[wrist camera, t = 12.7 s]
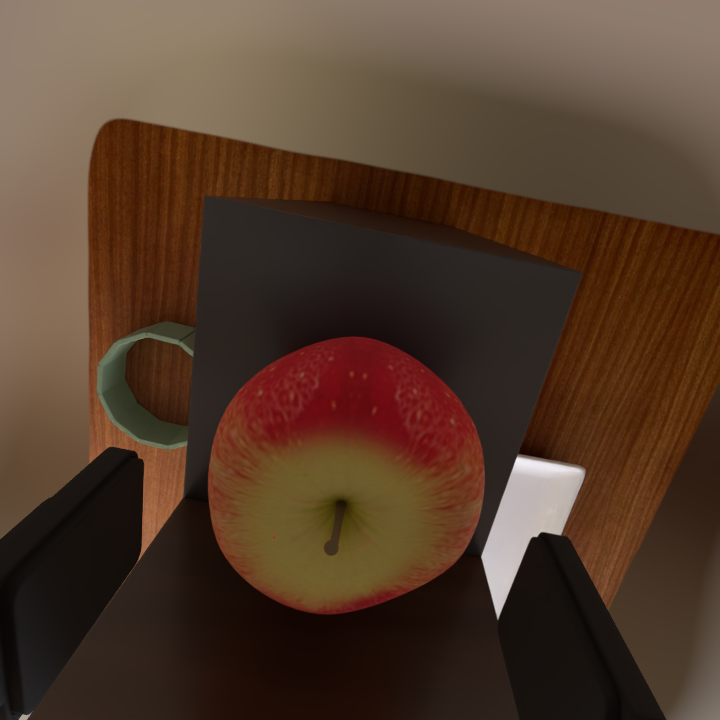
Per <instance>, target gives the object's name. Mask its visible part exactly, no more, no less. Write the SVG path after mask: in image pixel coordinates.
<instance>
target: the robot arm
mask: <svg viewBox="0 0 720 720" xmlns="http://www.w3.org/2000/svg"><path fill="white" fill-rule="evenodd" d="M143 477H144V462H143V460H142V459H139V458H138V455H137V453H136V452H135V451H131V450H126V449H121V448H116V447H109V448H107V449H106V450H105V451H104V452H102V453H101V454H100V455H99V456H98V457H97V458H96V459H94V460H93V461H92V462H91V463H90V464H89V465H88V466H87V467H85V468H84V469H83V470H82V471H81V472H80V473H79V474H78V475H76V476H75V477H74V478H73V479H72V480H71V481H70V482H69V483H67V484H66V485H65V486H64V487H63V488H62V489H61V490H59V491H58V492H57V493H56V494H55V495H54V496H53V497H51V498H48V499H47V500H45V501H44V502H43V503H41V504H40V505H39V506H38V507H37V508H36V509H34V510H33V511H32V512H31V513H30V514H29V515H28V516H27V517H25V518H24V519H23V520H22V521H21V522H20V523H19V524H17V525H16V526H15V527H14V528H13V529H12V530H11V531H9V532H8V533H7V534H6V535H5V536H4V537H3V538H1V539H0V720H19V718H20V717H21V715H22V714H24V715H29V714H30V713H31V712H33V711H34V710H35V708H36V707H37V706H38V704H39V703H40V702H41V700H42V699H43V697H44V696H45V694H46V693H47V691H48V690H49V689H50V687H51V686H52V684H53V683H54V681H55V680H56V678H57V677H58V676H59V674H60V673H61V671H62V670H63V668H64V667H65V665H66V664H67V663H68V661H69V660H70V658H71V657H72V655H73V654H74V652H75V651H76V650H77V648H78V647H79V645H80V644H81V642H82V641H83V639H84V638H85V637H86V635H87V634H88V632H89V631H90V629H91V628H92V626H93V625H94V624H95V622H96V621H97V619H98V618H99V616H100V615H101V613H102V612H103V611H104V609H105V608H106V606H107V605H108V603H109V602H110V600H111V599H112V598H113V596H114V595H115V593H116V592H117V590H118V589H119V587H120V586H121V585H122V583H123V582H124V580H125V579H126V577H127V576H128V574H129V573H130V572H131V570H132V569H133V567H134V566H135V564H136V563H137V561H138V558H139V556H140V552H141V546H142V512H143ZM497 630H498V637H499V641H500V645H501V649H502V653H503V657H504V661H505V665H506V669H507V672H508V676H509V680H510V684H511V688H512V692H513V696H514V700H515V704H516V708H517V712H518V716H519V720H666V718H665V716H664V714H663V712H662V711H661V709H660V707H659V705H658V703H657V701H656V699H655V697H654V696H653V694H652V692H651V690H650V688H649V686H648V684H647V683H646V681H645V679H644V677H643V675H642V673H641V671H640V670H639V668H638V666H637V664H636V662H635V660H634V658H633V657H632V655H631V653H630V651H629V649H628V647H627V645H626V643H625V642H624V640H623V638H622V636H621V634H620V632H619V630H618V629H617V627H616V625H615V623H614V621H613V619H612V617H611V616H610V614H609V612H608V610H607V608H606V606H605V604H604V602H603V601H602V599H601V597H600V595H599V593H598V591H597V589H596V587H595V586H594V584H593V582H592V580H591V578H590V576H589V574H588V573H587V571H586V569H585V567H584V565H583V563H582V561H581V560H580V558H579V556H578V554H577V552H576V550H575V548H574V546H573V545H572V543H571V541H570V540H569V538H568V537H566V536H561V535H556V534H551V533H546V532H541V533H540V534H539V535H538V537H532V538H531V539H530V541H529V543H528V546H527V548H526V551H525V553H524V556H523V558H522V561H521V563H520V566H519V568H518V571H517V573H516V576H515V578H514V581H513V583H512V586H511V588H510V591H509V593H508V596H507V598H506V601H505V603H504V606H503V608H502V611H501V613H500V615H499V619H498V625H497Z"/></svg>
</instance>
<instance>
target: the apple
mask: <svg viewBox="0 0 720 720" xmlns="http://www.w3.org/2000/svg"><path fill="white" fill-rule="evenodd" d="M484 487H485V470H484V459H483V451H482V447H481V443H480V439H479V436H478V433H477V430H476V427H475V425H474V423H473V421H472V419H471V417H470V415H469V414H468V412H467V411H466V409H465V407H464V406H463V404H462V403H461V401H460V400H459V399H458V397H457V396H456V395H455V394H454V392H453V391H452V390H451V389H450V388H449V387H448V386H447V385H446V384H445V383H444V382H443V381H442V380H441V379H440V378H439V377H438V376H436V375H435V374H434V373H433V372H432V371H431V370H430V369H428V368H427V367H426V366H425V365H423V364H422V363H421V362H419V361H418V360H416V359H415V358H413V357H412V356H410V355H409V354H407V353H405V352H403V351H402V350H400V349H398V348H396V347H394V346H391V345H389V344H387V343H384V342H381V341H378V340H375V339H371V338H366V337H341V338H335V339H330V340H326V341H322V342H318V343H315V344H312V345H309V346H306V347H304V348H301V349H299V350H297V351H294V352H292V353H290V354H288V355H286V356H284V357H282V358H280V359H278V360H276V361H275V362H273V363H271V364H270V365H268V366H267V367H265V368H264V369H262V370H261V371H260V372H259V373H257V374H256V375H255V376H254V377H252V378H251V379H250V380H249V381H248V382H247V383H246V384H245V385H244V386H243V387H242V388H241V389H240V390H239V391H238V392H237V394H236V395H235V396H234V398H233V399H232V401H231V402H230V404H229V405H228V406H227V408H226V410H225V412H224V414H223V416H222V418H221V421H220V423H219V426H218V428H217V431H216V434H215V437H214V441H213V446H212V450H211V457H210V464H209V473H208V496H209V506H210V514H211V521H212V525H213V530H214V533H215V536H216V540H217V542H218V544H219V547H220V549H221V551H222V552H223V554H224V556H225V557H226V559H227V560H228V562H229V563H230V564H231V565H232V567H233V568H234V569H235V570H236V571H237V572H238V573H239V574H240V575H241V576H242V577H243V578H244V579H245V580H246V581H247V582H248V583H249V584H251V585H252V586H253V587H254V588H256V589H257V590H259V591H260V592H261V593H263V594H265V595H266V596H268V597H270V598H271V599H273V600H275V601H277V602H279V603H281V604H283V605H286V606H288V607H291V608H294V609H297V610H300V611H304V612H308V613H315V614H328V615H329V614H341V613H347V612H352V611H356V610H360V609H364V608H367V607H371V606H374V605H377V604H380V603H383V602H385V601H388V600H391V599H393V598H396V597H398V596H401V595H403V594H405V593H407V592H410V591H412V590H414V589H416V588H418V587H420V586H422V585H424V584H426V583H427V582H429V581H431V580H433V579H434V578H436V577H437V576H439V575H440V574H442V573H443V572H445V571H446V570H447V569H448V568H450V567H451V566H452V565H453V564H454V563H455V562H456V561H457V560H458V559H459V558H460V556H461V555H462V554H463V552H464V551H465V549H466V548H467V546H468V544H469V542H470V540H471V538H472V536H473V534H474V531H475V529H476V527H477V524H478V521H479V518H480V513H481V509H482V503H483V496H484Z"/></svg>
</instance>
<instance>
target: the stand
mask: <svg viewBox="0 0 720 720" xmlns="http://www.w3.org/2000/svg"><path fill="white" fill-rule="evenodd" d="M581 276H582V272H580V271H577V270H574V269H571V268H568V267H565V266H562V265H559V264H557V263H554V262H551V261H548V260H545V259H542V258H540V257H537V256H534V255H531V254H528V253H526V252H523V251H520V250H517V249H514V248H511V247H509V246H506V245H503V244H500V243H497V242H494V241H492V240H489V239H486V238H483V237H480V236H478V235H475V234H472V233H469V232H466V231H463V230H461V229H458V228H455V227H451V226H446V225H441V224H436V223H431V222H426V221H421V220H416V219H411V218H406V217H401V216H397V215H392V214H387V213H382V212H377V211H372V210H367V209H362V208H357V207H352V206H347V205H342V204H337V203H333V202H327V201H304V200H282V199H259V198H237V197H215V196H205V197H204V207H203V222H202V236H201V250H200V265H199V279H198V294H197V308H196V323H195V337H194V352H193V366H192V381H191V395H190V410H189V424H188V439H187V453H186V467H185V482H184V496H183V499H182V500H181V501H180V503H179V504H178V506H177V507H176V509H175V510H174V511H173V513H172V514H171V516H170V517H169V519H168V520H167V521H166V523H165V524H164V526H163V527H162V528H161V530H160V531H159V533H158V534H157V536H156V537H155V538H154V540H153V541H152V543H151V544H150V546H149V547H148V548H147V550H146V551H145V553H144V554H143V556H142V557H141V558H140V560H139V561H138V563H137V564H136V565H135V567H134V568H133V570H132V571H131V573H130V574H129V575H128V577H127V578H126V580H125V581H124V583H123V584H122V585H121V587H120V588H119V590H118V591H117V592H116V594H115V595H114V597H113V598H112V600H111V601H110V602H109V604H108V605H107V607H106V608H105V610H104V611H103V612H102V614H101V615H100V617H99V618H98V620H97V621H96V622H95V624H94V625H93V627H92V628H91V629H90V631H89V632H88V634H87V635H86V637H85V638H84V639H83V641H82V642H81V644H80V645H79V647H78V648H77V650H76V651H75V652H74V654H73V655H72V657H71V658H70V660H69V661H68V663H67V664H66V665H65V667H64V668H63V670H62V671H61V673H60V674H59V676H58V677H57V678H56V680H55V681H54V683H53V684H52V686H51V687H50V689H49V690H48V691H47V693H46V694H45V696H44V697H43V699H42V700H41V702H40V703H39V704H38V706H37V707H36V708H35V710H34V711H33V712H32V713H31V715H30V717H29V718H28V719H27V720H519V716H518V712H517V708H516V704H515V700H514V696H513V692H512V688H511V684H510V680H509V676H508V672H507V669H506V665H505V661H504V657H503V653H502V649H501V645H500V641H499V637H498V630H497V625H498V619H497V615H496V611H495V607H494V603H493V599H492V596H491V592H490V588H489V584H488V580H487V576H486V573H485V569H484V565H483V561H482V558H481V556H482V554H483V551H484V548H485V545H486V542H487V540H488V537H489V534H490V531H491V528H492V526H493V523H494V520H495V517H496V514H497V511H498V509H499V506H500V503H501V500H502V497H503V495H504V492H505V489H506V486H507V483H508V481H509V478H510V475H511V472H512V469H513V467H514V464H515V461H516V458H517V455H518V453H519V450H520V447H521V444H522V441H523V439H524V436H525V433H526V430H527V427H528V425H529V422H530V419H531V416H532V413H533V411H534V408H535V405H536V402H537V399H538V397H539V394H540V391H541V388H542V385H543V383H544V380H545V377H546V374H547V371H548V368H549V366H550V363H551V360H552V357H553V354H554V352H555V349H556V346H557V343H558V340H559V338H560V335H561V332H562V329H563V326H564V324H565V321H566V318H567V315H568V312H569V310H570V307H571V304H572V301H573V298H574V296H575V293H576V290H577V287H578V284H579V282H580V279H581ZM341 337H366V338H371V339H375V340H378V341H381V342H384V343H387V344H389V345H391V346H394V347H396V348H398V349H400V350H402V351H403V352H405V353H407V354H409V355H410V356H412V357H413V358H415V359H416V360H418V361H419V362H421V363H422V364H423V365H425V366H426V367H427V368H428V369H430V370H431V371H432V372H433V373H434V374H435V375H436V376H438V377H439V378H440V379H441V380H442V381H443V382H444V383H445V384H446V385H447V386H448V387H449V388H450V389H451V390H452V391H453V392H454V394H455V395H456V396H457V397H458V399H459V400H460V401H461V403H462V404H463V406H464V407H465V409H466V411H467V412H468V414H469V415H470V417H471V419H472V421H473V423H474V425H475V427H476V430H477V433H478V436H479V439H480V443H481V447H482V451H483V459H484V470H485V487H484V496H483V503H482V509H481V513H480V518H479V521H478V524H477V527H476V529H475V531H474V534H473V536H472V538H471V540H470V542H469V544H468V546H467V548H466V549H465V551H464V552H463V554H462V555H461V556H460V558H459V559H458V560H457V561H456V562H455V563H454V564H453V565H452V566H451V567H450V568H448V569H447V570H446V571H445V572H443V573H442V574H440V575H439V576H437V577H436V578H434V579H433V580H431V581H429V582H427V583H426V584H424V585H422V586H420V587H418V588H416V589H414V590H412V591H410V592H407V593H405V594H403V595H401V596H398V597H396V598H393V599H391V600H388V601H385V602H383V603H380V604H377V605H374V606H371V607H367V608H364V609H360V610H356V611H352V612H347V613H341V614H329V615H328V614H315V613H308V612H304V611H300V610H297V609H294V608H291V607H288V606H286V605H283V604H281V603H279V602H277V601H275V600H273V599H271V598H270V597H268V596H266V595H265V594H263V593H261V592H260V591H259V590H257V589H256V588H254V587H253V586H252V585H251V584H249V583H248V582H247V581H246V580H245V579H244V578H243V577H242V576H241V575H240V574H239V573H238V572H237V571H236V570H235V569H234V568H233V567H232V565H231V564H230V563H229V562H228V560H227V559H226V557H225V556H224V554H223V552H222V551H221V549H220V547H219V544H218V542H217V540H216V536H215V533H214V530H213V525H212V521H211V514H210V506H209V496H208V473H209V464H210V457H211V450H212V446H213V441H214V437H215V434H216V431H217V428H218V426H219V423H220V421H221V418H222V416H223V414H224V412H225V410H226V408H227V406H228V405H229V404H230V402H231V401H232V399H233V398H234V396H235V395H236V394H237V392H238V391H239V390H240V389H241V388H242V387H243V386H244V385H245V384H246V383H247V382H248V381H249V380H250V379H251V378H252V377H254V376H255V375H256V374H257V373H259V372H260V371H261V370H262V369H264V368H265V367H267V366H268V365H270V364H271V363H273V362H275V361H276V360H278V359H280V358H282V357H284V356H286V355H288V354H290V353H292V352H294V351H297V350H299V349H301V348H304V347H306V346H309V345H312V344H315V343H318V342H322V341H326V340H330V339H335V338H341Z"/></svg>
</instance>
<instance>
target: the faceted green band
mask: <svg viewBox="0 0 720 720" xmlns="http://www.w3.org/2000/svg"><path fill="white" fill-rule="evenodd" d="M146 337H149V338H153V339H157V340H161V341H165V342H169V343H173V344H177V345H179V346H180V347H182V348H183V349H184V350H185V351H186V352H188V353H189V354H190V355H191V356H192V357H193V352H194V337H195V328H194V327H190V326H186V325H182V324H178V323H174V322H170V321H168V322H167V321H165V322H162V323H158V324H155V325H151V326H148V327H145V328H141V329H139V330H137V331H135V332H133V333H131V334H129V335H127V336H125V337H123V338H121V339H119V340H117V341H115V342H114V344H113V345H112V346H111V348H110V349H109V350H108V351H107V353H106V354H105V355H104V357H103V358H102V359H101V360H100V362H99V364H98V374H97V393H99V394H97V395H98V397H99V399H100V401H101V403H102V405H103V407H104V409H105V411H106V413H107V415H108V417H109V419H110V421H113V422H112V423H113V424H114V425H116V426H117V427H118V428H120V429H121V430H122V431H123V432H125V433H126V434H127V435H129V436H130V437H131V438H132V439H134V440H135V441H136V442H137V441H138V440H139V442H138V443H142V444H146V445H150V446H154V447H158V448H162V449H167V450H168V449H169V450H170V449H174V448H178V447H182V446H186V445H187V439H188V426H182V425H178V424H174V423H170V422H166V421H162V420H159V419H157V418H156V417H155V416H153V415H152V414H151V413H150V412H148V411H147V410H146V409H145V408H143V407H142V406H141V405H140V404H138V403H137V401H136V399H135V397H134V395H133V393H132V391H131V389H130V387H129V385H128V383H127V381H126V379H125V374H126V358H127V352H128V351H129V349H130V348H131V347H132V346H133V344H134V343H135V342H136V341H137V340H139V339H143V338H146Z"/></svg>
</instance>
